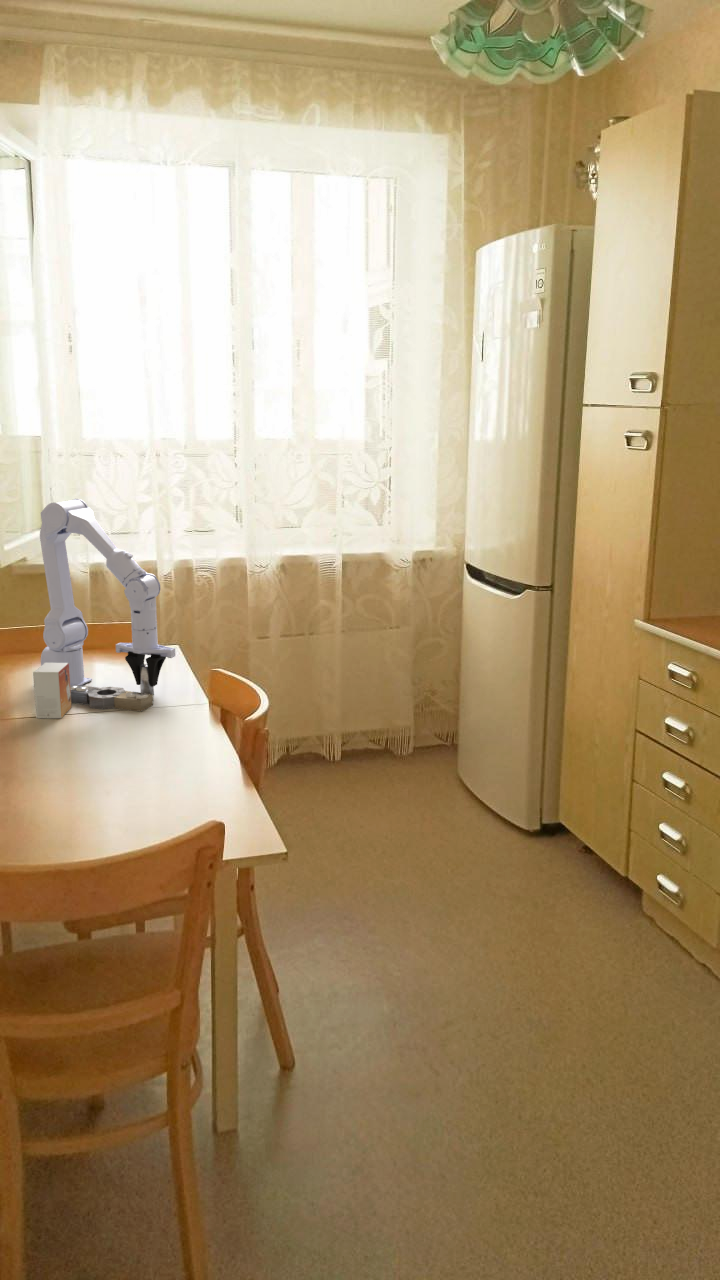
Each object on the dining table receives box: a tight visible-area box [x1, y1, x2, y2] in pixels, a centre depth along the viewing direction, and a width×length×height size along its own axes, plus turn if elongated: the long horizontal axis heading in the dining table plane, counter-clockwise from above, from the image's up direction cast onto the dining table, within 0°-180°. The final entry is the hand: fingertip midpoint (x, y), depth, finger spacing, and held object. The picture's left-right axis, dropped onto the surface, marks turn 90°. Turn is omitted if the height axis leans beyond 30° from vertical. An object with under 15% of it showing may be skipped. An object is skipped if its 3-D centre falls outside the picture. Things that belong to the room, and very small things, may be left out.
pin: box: [139, 663, 155, 696], centre depth 236 cm, size 3×3×7 cm
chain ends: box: [70, 685, 154, 713], centre depth 230 cm, size 21×8×3 cm, turn 71°
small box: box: [32, 663, 72, 719], centre depth 222 cm, size 8×6×10 cm
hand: (146, 684), depth 236 cm, fingers closed on pin, 3 cm apart
